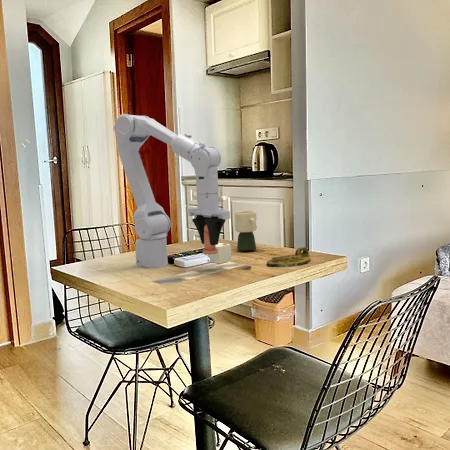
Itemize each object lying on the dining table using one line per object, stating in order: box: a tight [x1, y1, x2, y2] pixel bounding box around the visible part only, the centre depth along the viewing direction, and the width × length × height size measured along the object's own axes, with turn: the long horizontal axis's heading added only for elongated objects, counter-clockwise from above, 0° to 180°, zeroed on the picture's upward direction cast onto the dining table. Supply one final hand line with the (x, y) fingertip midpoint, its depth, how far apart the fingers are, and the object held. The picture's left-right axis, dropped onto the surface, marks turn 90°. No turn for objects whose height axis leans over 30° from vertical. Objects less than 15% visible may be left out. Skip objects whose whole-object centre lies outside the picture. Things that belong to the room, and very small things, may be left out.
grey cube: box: [207, 242, 232, 264], centre depth 144 cm, size 5×5×5 cm
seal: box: [266, 246, 312, 268], centre depth 138 cm, size 9×5×15 cm
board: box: [151, 261, 252, 287], centre depth 126 cm, size 10×28×1 cm, turn 134°
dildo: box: [202, 224, 218, 255], centre depth 128 cm, size 4×4×8 cm
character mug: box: [234, 210, 258, 252], centre depth 157 cm, size 11×7×13 cm, turn 28°
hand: (209, 244), depth 128 cm, fingers closed on dildo, 3 cm apart
